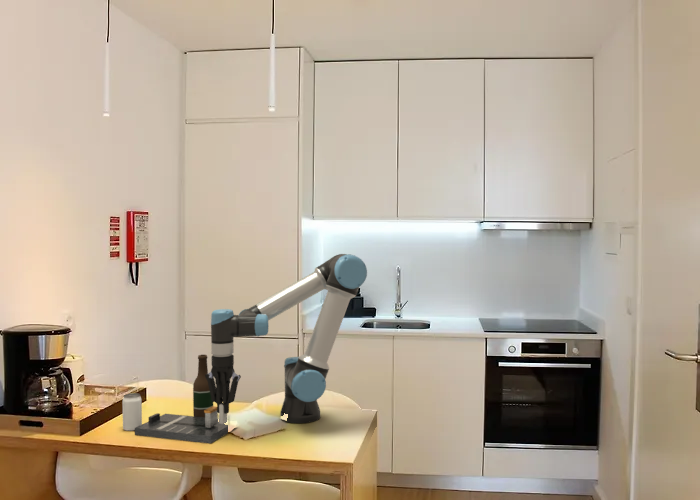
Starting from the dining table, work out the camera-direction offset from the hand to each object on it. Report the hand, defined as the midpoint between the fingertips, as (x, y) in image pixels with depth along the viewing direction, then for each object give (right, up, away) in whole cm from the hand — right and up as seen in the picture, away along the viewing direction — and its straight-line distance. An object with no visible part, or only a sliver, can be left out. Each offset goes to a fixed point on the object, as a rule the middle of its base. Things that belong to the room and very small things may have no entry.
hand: (223, 422), depth 215 cm
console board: (-14, -4, +5) cm, 15 cm away
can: (-34, -5, +9) cm, 36 cm away
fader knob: (-4, -2, +2) cm, 5 cm away
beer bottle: (-12, -4, +20) cm, 24 cm away
